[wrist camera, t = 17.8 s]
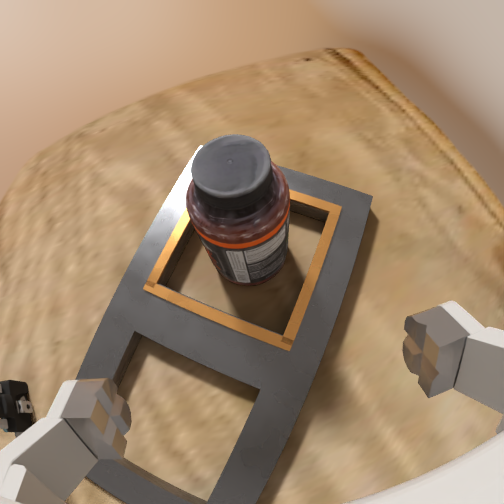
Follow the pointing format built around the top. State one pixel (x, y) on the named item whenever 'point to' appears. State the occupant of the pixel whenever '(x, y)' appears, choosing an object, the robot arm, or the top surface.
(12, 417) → the push button
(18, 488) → the robot arm
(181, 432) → the top surface
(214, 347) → the grey rectangular frame
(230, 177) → the supplement bottle
